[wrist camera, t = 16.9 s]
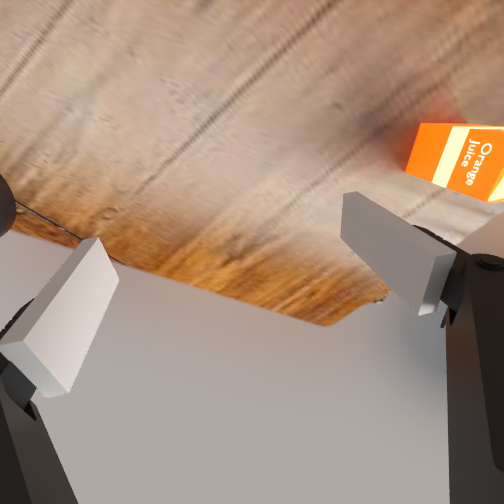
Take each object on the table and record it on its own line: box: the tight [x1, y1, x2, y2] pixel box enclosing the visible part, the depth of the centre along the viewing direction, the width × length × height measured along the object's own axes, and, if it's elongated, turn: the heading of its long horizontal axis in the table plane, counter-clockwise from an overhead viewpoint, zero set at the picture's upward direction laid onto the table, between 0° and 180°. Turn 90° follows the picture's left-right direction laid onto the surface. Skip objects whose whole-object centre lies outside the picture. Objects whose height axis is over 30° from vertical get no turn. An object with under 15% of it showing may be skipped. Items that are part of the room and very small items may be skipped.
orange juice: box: [405, 123, 504, 203], centre depth 34 cm, size 8×9×20 cm
